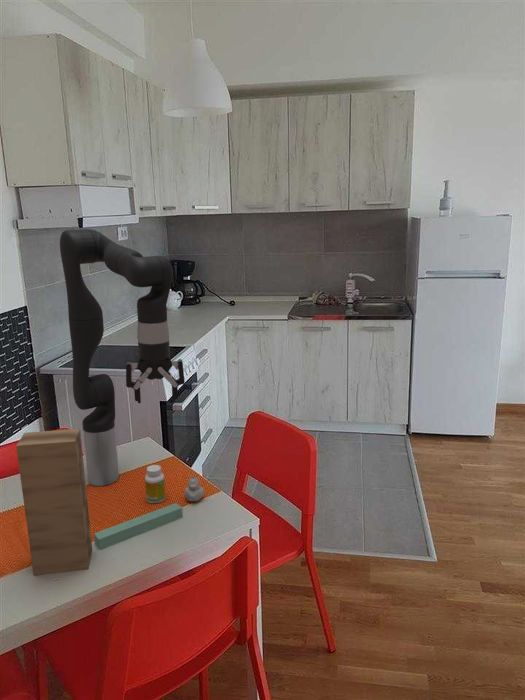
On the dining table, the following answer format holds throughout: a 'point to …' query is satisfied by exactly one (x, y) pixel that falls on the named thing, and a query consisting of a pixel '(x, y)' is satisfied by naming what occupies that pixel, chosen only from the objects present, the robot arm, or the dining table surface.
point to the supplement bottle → (154, 484)
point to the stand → (55, 500)
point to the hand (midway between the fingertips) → (156, 401)
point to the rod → (137, 526)
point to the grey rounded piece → (194, 490)
